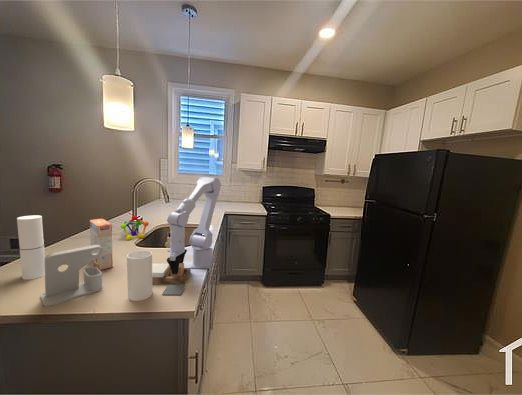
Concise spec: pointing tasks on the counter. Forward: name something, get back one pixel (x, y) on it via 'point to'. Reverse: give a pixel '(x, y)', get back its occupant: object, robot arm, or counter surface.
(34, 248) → the cylindrical container
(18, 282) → the counter surface
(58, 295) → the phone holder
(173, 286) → the pad
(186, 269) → the wooden grid frame
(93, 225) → the cracker box
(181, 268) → the block
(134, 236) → the educational toy
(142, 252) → the cup
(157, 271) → the cover
